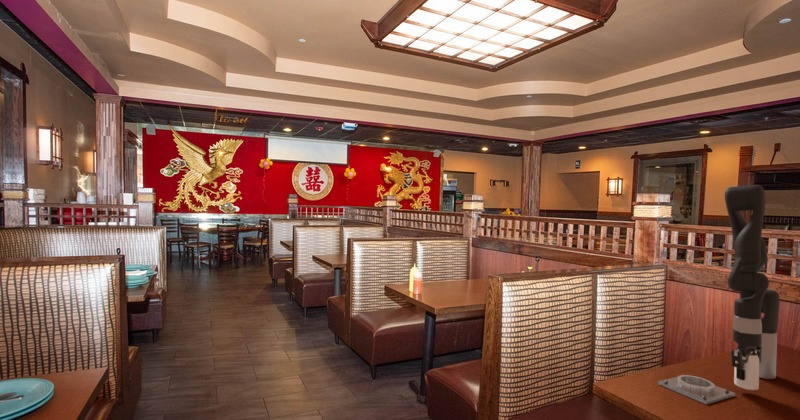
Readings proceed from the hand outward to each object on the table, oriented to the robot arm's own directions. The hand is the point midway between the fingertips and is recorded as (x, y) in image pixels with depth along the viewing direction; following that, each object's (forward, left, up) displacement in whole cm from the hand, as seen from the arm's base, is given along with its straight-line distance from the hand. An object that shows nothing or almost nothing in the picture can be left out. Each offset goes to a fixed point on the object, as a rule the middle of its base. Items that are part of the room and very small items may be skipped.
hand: (746, 377), depth 139 cm
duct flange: (+14, -8, -6) cm, 17 cm away
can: (0, 0, -3) cm, 3 cm away
